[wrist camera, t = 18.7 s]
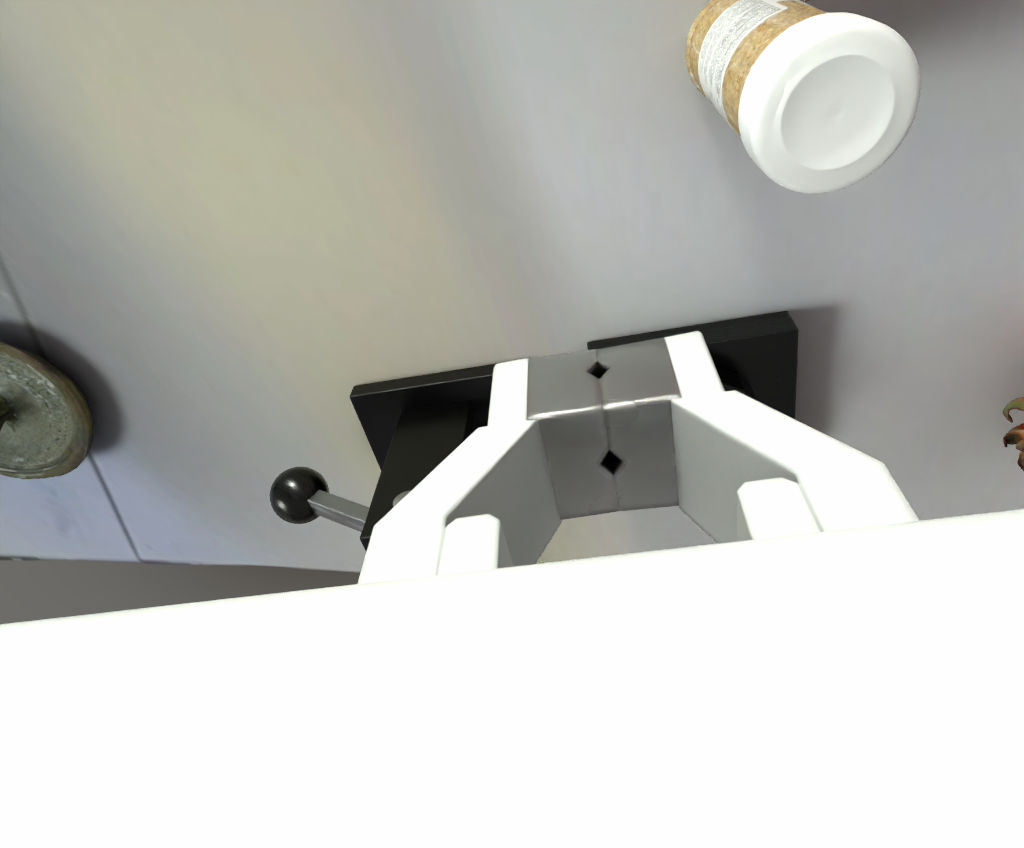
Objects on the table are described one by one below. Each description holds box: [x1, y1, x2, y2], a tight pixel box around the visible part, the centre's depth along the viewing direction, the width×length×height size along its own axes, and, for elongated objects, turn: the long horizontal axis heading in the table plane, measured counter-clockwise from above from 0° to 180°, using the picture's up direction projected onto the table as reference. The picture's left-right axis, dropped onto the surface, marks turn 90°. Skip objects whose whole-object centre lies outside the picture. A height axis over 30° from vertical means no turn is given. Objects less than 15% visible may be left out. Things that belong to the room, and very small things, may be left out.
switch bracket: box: [350, 364, 496, 552], centre depth 38 cm, size 10×8×12 cm
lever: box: [270, 467, 369, 532], centre depth 38 cm, size 13×3×3 cm, turn 102°
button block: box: [587, 311, 798, 419], centre depth 39 cm, size 11×9×4 cm
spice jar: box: [686, 0, 920, 194], centre depth 24 cm, size 5×5×13 cm
